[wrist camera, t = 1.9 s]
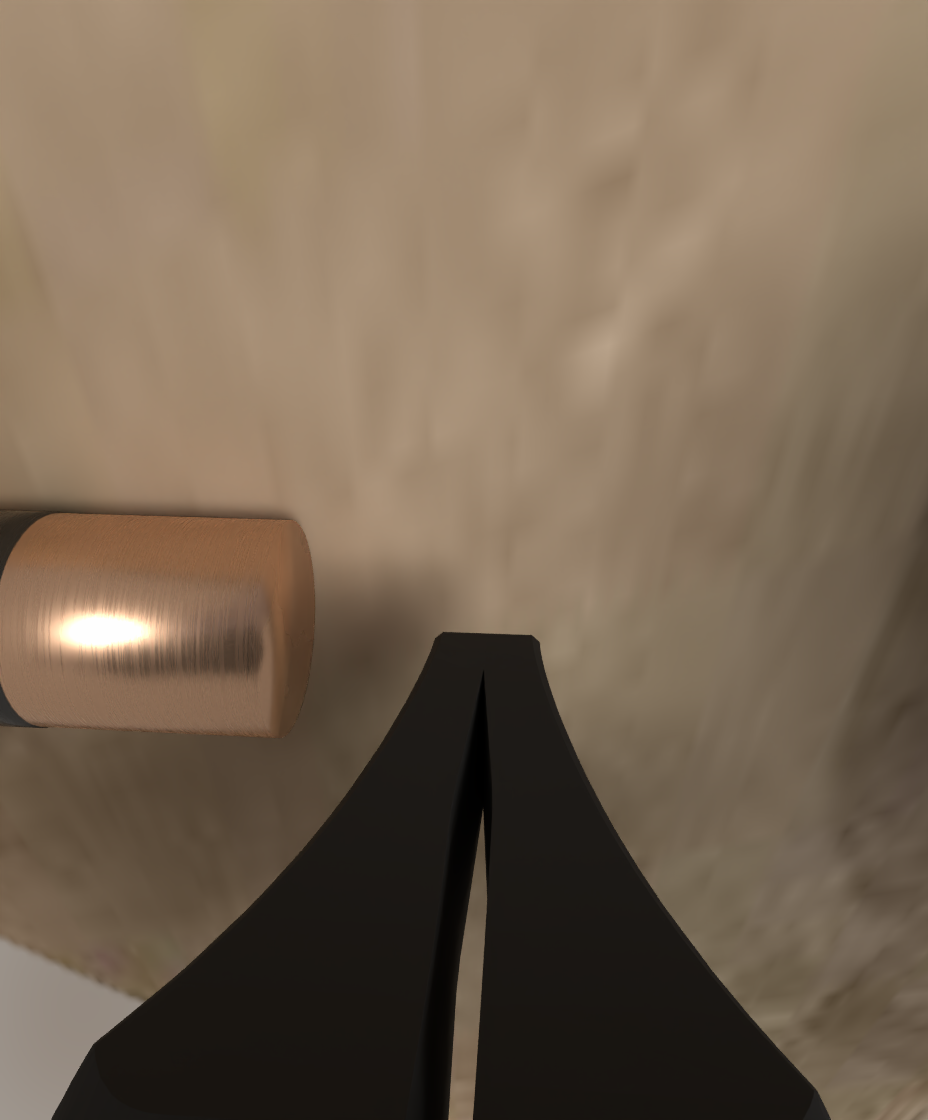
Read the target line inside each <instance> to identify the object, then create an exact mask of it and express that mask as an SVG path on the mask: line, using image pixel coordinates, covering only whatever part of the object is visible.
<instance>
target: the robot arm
mask: <svg viewBox="0 0 928 1120" xmlns="http://www.w3.org/2000/svg"><path fill="white" fill-rule="evenodd" d="M482 811H483V812H484V835H485V858H486V880H487V914H486V931H485V947H484V963H483V978H482V994H481V1010H480V1025H479V1039H478V1054H477V1069H476V1084H475V1098H474V1112H473V1120H831V1119H830V1117H829V1114H828V1112H827V1110H826V1108H825V1106H824V1104H823V1102H822V1100H821V1098H820V1096H819V1094H818V1092H817V1090H816V1089H815V1088H814V1087H813V1086H812V1085H811V1083H810V1082H809V1081H808V1080H807V1079H806V1078H805V1077H804V1076H803V1075H802V1074H801V1073H800V1072H799V1070H798V1069H797V1068H796V1067H795V1066H794V1065H793V1064H792V1063H791V1062H790V1061H789V1060H788V1059H787V1057H786V1056H785V1055H784V1054H783V1053H782V1052H781V1051H780V1050H779V1049H778V1048H777V1047H776V1045H775V1044H774V1043H773V1042H772V1041H771V1040H770V1039H769V1037H768V1036H767V1035H766V1034H765V1033H764V1032H763V1031H762V1030H761V1028H760V1027H759V1026H758V1025H757V1024H756V1023H755V1022H754V1020H753V1019H752V1018H751V1017H750V1016H749V1015H748V1014H747V1012H746V1011H745V1010H744V1009H743V1008H742V1006H741V1005H740V1004H739V1003H738V1001H737V1000H736V999H735V998H734V997H733V995H732V994H731V993H730V992H729V991H728V989H727V988H726V987H725V986H724V985H723V983H722V982H721V981H720V980H719V979H718V977H717V976H716V975H715V974H714V972H713V971H712V970H711V969H710V967H709V966H708V965H707V963H706V962H705V961H704V959H703V958H702V957H701V955H700V954H699V953H698V951H697V950H696V949H695V947H694V946H693V945H692V943H691V942H690V941H689V939H688V938H687V937H686V935H685V934H684V933H683V931H682V930H681V929H680V927H679V926H678V925H677V923H676V922H675V920H674V919H673V918H672V916H671V915H670V914H669V912H668V911H667V910H666V908H665V907H664V906H663V904H662V903H661V901H660V900H659V898H658V897H657V895H656V894H655V892H654V891H653V889H652V888H651V886H650V885H649V883H648V882H647V880H646V879H645V877H644V876H643V874H642V873H641V871H640V870H639V868H638V867H637V865H636V863H635V862H634V860H633V859H632V857H631V855H630V854H629V852H628V850H627V849H626V847H625V846H624V844H623V842H622V841H621V839H620V837H619V836H618V834H617V832H616V830H615V829H614V827H613V825H612V823H611V822H610V820H609V818H608V816H607V814H606V813H605V811H604V809H603V807H602V805H601V803H600V801H599V799H598V798H597V796H596V794H595V792H594V790H593V788H592V786H591V784H590V782H589V780H588V778H587V776H586V774H585V772H584V770H583V768H582V766H581V764H580V761H579V759H578V757H577V755H576V753H575V750H574V748H573V746H572V743H571V741H570V739H569V736H568V734H567V732H566V729H565V727H564V725H563V722H562V720H561V717H560V715H559V712H558V709H557V707H556V704H555V701H554V698H553V695H552V692H551V689H550V686H549V683H548V680H547V676H546V673H545V669H544V665H543V661H542V656H541V651H540V642H539V641H538V640H537V639H535V638H534V637H533V636H532V635H512V634H483V633H454V632H443V633H441V634H440V635H439V636H438V637H436V638H435V640H434V643H433V646H432V649H431V652H430V654H429V656H428V659H427V661H426V663H425V666H424V668H423V670H422V672H421V674H420V676H419V678H418V680H417V682H416V684H415V686H414V688H413V690H412V692H411V693H410V695H409V697H408V699H407V701H406V703H405V705H404V706H403V708H402V710H401V711H400V713H399V715H398V716H397V718H396V720H395V721H394V723H393V725H392V727H391V728H390V730H389V732H388V733H387V735H386V737H385V738H384V740H383V742H382V743H381V745H380V746H379V748H378V749H377V751H376V752H375V754H374V755H373V757H372V758H371V760H370V761H369V763H368V764H367V765H366V767H365V768H364V770H363V771H362V773H361V774H360V776H359V777H358V779H357V780H356V782H355V783H354V784H353V786H352V787H351V789H350V790H349V792H348V793H347V794H346V796H345V797H344V798H343V800H342V801H341V802H340V804H339V805H338V806H337V808H336V809H335V810H334V812H333V813H332V814H331V815H330V817H329V818H328V819H327V820H326V822H325V823H324V824H323V825H322V827H321V828H320V829H319V830H318V832H317V833H316V834H315V835H314V836H313V838H312V839H311V840H310V841H309V842H308V844H307V845H306V846H305V847H304V848H303V850H302V851H301V852H300V853H299V854H298V855H297V856H296V857H295V859H294V860H293V861H292V862H291V863H290V864H289V865H288V866H287V867H286V869H285V870H284V871H283V872H282V873H281V874H280V875H279V876H278V877H277V879H276V880H275V881H274V882H273V883H272V884H271V885H270V886H269V887H268V888H267V889H266V891H265V892H264V893H263V894H262V895H261V896H260V897H259V898H258V899H257V900H256V901H255V902H254V903H253V904H252V905H251V906H250V907H249V908H248V909H247V910H246V911H245V912H244V913H243V914H242V915H241V916H240V917H239V918H238V919H237V920H236V921H235V922H234V923H232V924H231V925H230V926H229V927H228V928H227V929H226V930H225V931H224V932H223V933H222V934H221V935H220V936H219V937H218V938H217V939H216V940H215V941H213V942H212V943H211V944H210V945H209V946H208V947H207V948H206V949H205V950H204V951H203V952H202V953H201V954H200V955H199V956H198V957H197V958H195V959H194V960H193V961H192V962H191V963H190V964H189V965H188V966H187V967H186V968H185V969H183V970H182V971H181V972H180V973H179V974H178V975H177V976H175V977H174V978H173V979H172V980H171V981H170V982H168V983H167V984H166V985H165V986H164V987H162V988H161V989H160V990H159V991H158V992H156V993H155V994H154V995H153V996H151V997H150V998H149V999H148V1000H147V1001H145V1002H144V1003H143V1004H142V1005H141V1006H139V1007H138V1008H137V1009H136V1010H134V1011H133V1012H132V1013H131V1014H130V1015H129V1016H127V1017H126V1018H125V1019H124V1020H123V1021H121V1022H120V1023H119V1024H117V1025H116V1026H115V1027H114V1028H113V1029H111V1030H110V1031H109V1032H108V1033H106V1034H105V1035H104V1036H103V1037H101V1038H100V1039H99V1040H98V1041H97V1042H96V1043H94V1044H93V1046H92V1048H91V1049H90V1051H89V1052H88V1054H87V1056H86V1057H85V1059H84V1061H83V1063H82V1064H81V1066H80V1068H79V1069H78V1071H77V1073H76V1075H75V1077H74V1078H73V1080H72V1082H71V1083H70V1085H69V1088H68V1089H67V1091H66V1093H65V1095H64V1097H63V1099H62V1101H61V1102H60V1104H59V1106H58V1108H57V1109H56V1111H55V1113H54V1115H53V1117H52V1120H448V1116H449V1099H450V1083H451V1067H452V1051H453V1036H454V1020H455V1005H456V990H457V981H458V972H459V964H460V955H461V949H462V942H463V936H464V929H465V923H466V916H467V910H468V903H469V897H470V890H471V884H472V877H473V871H474V864H475V858H476V851H477V844H478V838H479V831H480V825H481V818H482Z"/></svg>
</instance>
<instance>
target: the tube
mask: <svg viewBox="0 0 928 1120" xmlns="http://www.w3.org/2000/svg"><path fill="white" fill-rule="evenodd" d="M314 624H315V591H314V577H313V568H312V560H311V555H310V550H309V546H308V542H307V539H306V536H305V534H304V532H303V530H302V528H301V527H300V525H299V524H298V523H297V522H295V521H293V520H267V519H234V518H202V517H169V516H137V515H104V514H72V513H63V512H45V511H12V510H0V726H12V727H33V728H48V727H59V728H80V729H101V730H122V731H143V732H164V733H185V734H206V735H227V736H248V737H269V738H282V737H284V736H286V735H287V734H288V733H289V732H290V730H291V729H292V727H293V726H294V724H295V722H296V720H297V717H298V715H299V712H300V710H301V707H302V703H303V700H304V696H305V692H306V688H307V683H308V678H309V673H310V666H311V659H312V651H313V640H314Z"/></svg>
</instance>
